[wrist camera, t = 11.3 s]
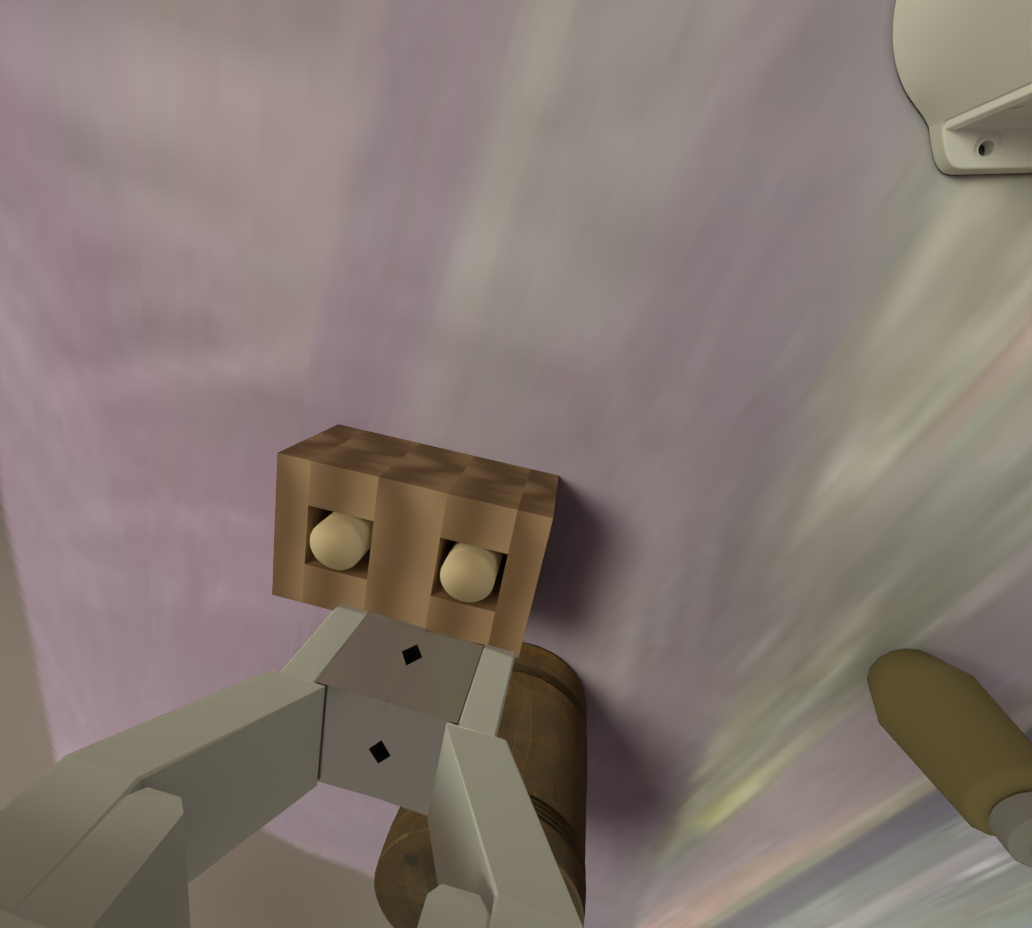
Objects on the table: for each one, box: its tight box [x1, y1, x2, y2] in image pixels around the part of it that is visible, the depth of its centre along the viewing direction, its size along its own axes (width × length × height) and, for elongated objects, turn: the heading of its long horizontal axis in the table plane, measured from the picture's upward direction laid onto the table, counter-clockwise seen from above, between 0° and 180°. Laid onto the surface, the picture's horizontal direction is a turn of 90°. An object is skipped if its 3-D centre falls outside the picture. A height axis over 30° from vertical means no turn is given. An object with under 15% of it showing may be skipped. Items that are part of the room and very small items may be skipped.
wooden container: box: [374, 643, 587, 928], centre depth 39 cm, size 15×15×22 cm
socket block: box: [272, 424, 559, 658], centre depth 39 cm, size 20×12×9 cm, turn 79°
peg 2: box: [440, 542, 504, 602], centre depth 38 cm, size 4×4×8 cm
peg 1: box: [310, 512, 374, 570], centre depth 39 cm, size 4×4×8 cm
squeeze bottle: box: [867, 649, 1032, 867], centre depth 34 cm, size 8×8×18 cm
